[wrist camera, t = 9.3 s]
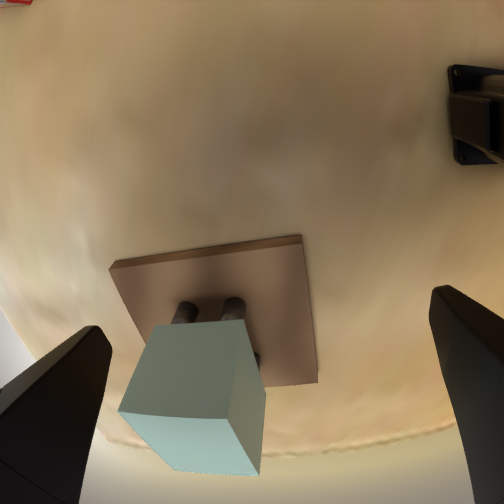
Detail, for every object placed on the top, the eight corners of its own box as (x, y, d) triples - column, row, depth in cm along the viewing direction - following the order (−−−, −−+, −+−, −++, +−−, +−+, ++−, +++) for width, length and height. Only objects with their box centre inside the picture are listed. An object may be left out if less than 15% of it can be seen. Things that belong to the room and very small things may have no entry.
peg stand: (301, 234, 20) (304, 270, 17) (317, 372, 27) (319, 410, 23) (115, 261, 23) (89, 293, 19) (174, 379, 29) (164, 412, 26)
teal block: (243, 319, 19) (226, 418, 13) (265, 394, 23) (259, 475, 17) (154, 325, 20) (117, 411, 14) (193, 395, 24) (174, 470, 18)
